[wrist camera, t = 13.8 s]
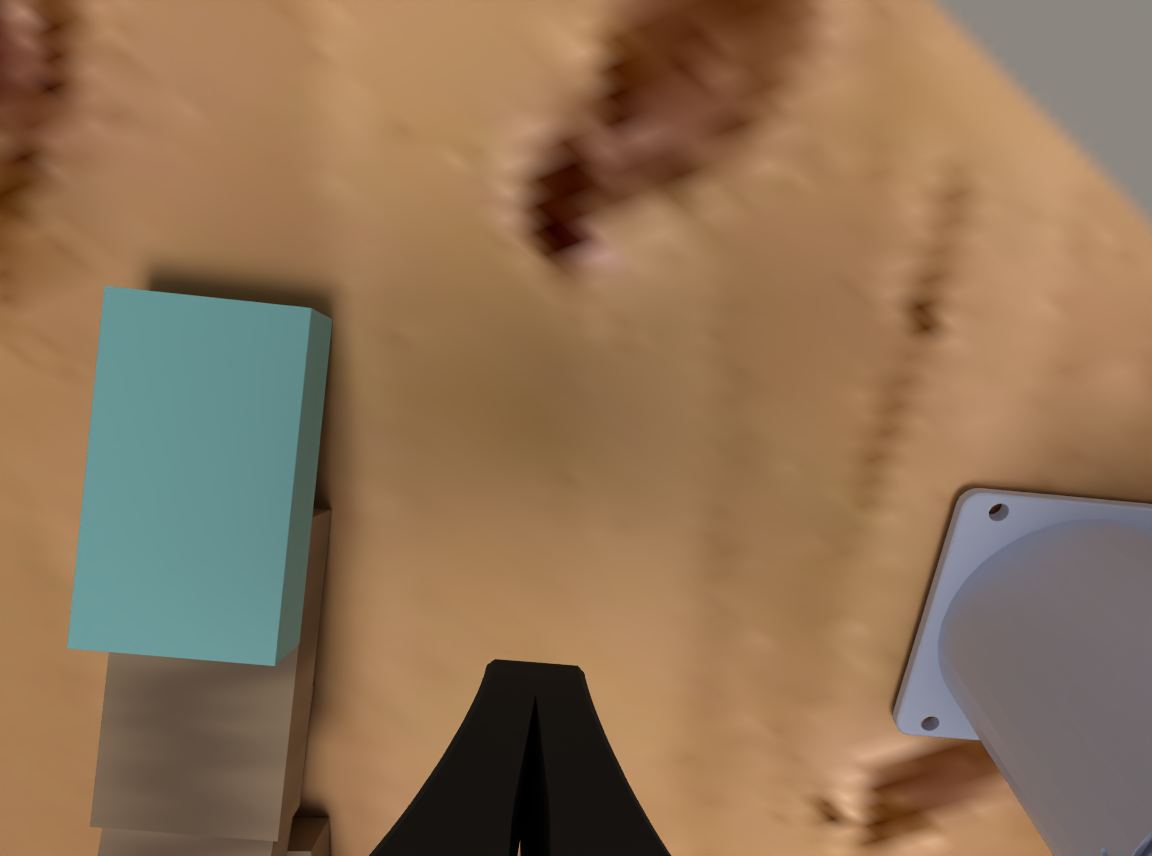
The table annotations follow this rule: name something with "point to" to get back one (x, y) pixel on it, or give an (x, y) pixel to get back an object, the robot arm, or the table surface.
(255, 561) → the teal domino
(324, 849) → the walnut domino
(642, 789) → the table surface
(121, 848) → the walnut domino
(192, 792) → the walnut domino
